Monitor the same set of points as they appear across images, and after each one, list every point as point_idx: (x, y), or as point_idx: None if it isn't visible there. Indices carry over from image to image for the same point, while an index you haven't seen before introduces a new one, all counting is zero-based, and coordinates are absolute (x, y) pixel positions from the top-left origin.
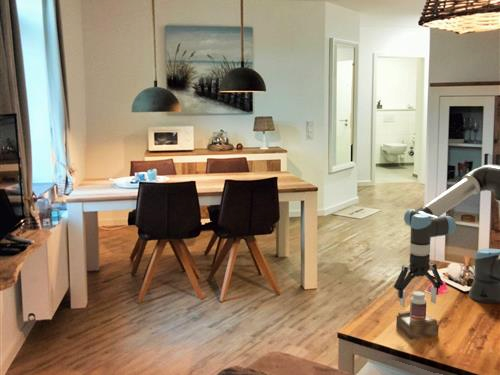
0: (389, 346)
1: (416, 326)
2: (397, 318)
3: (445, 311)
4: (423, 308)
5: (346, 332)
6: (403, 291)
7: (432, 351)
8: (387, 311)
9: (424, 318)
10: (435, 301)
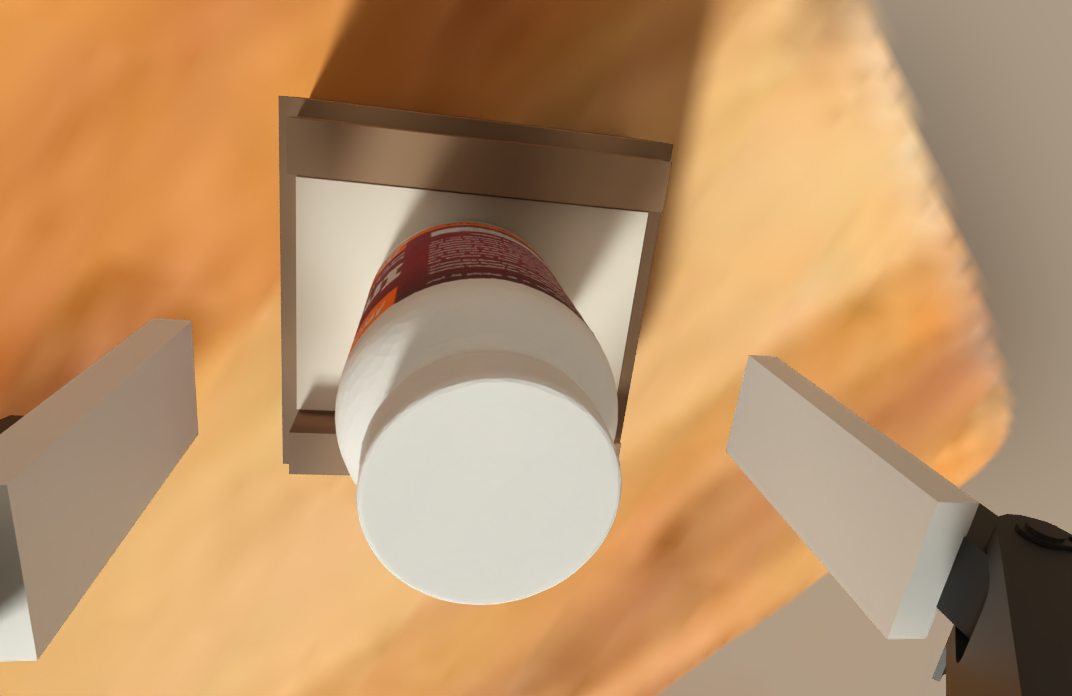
0: (890, 78)
1: (593, 145)
2: None
3: None
4: (460, 257)
5: (999, 428)
6: (976, 503)
7: None
8: (481, 676)
9: (428, 229)
10: (148, 333)
